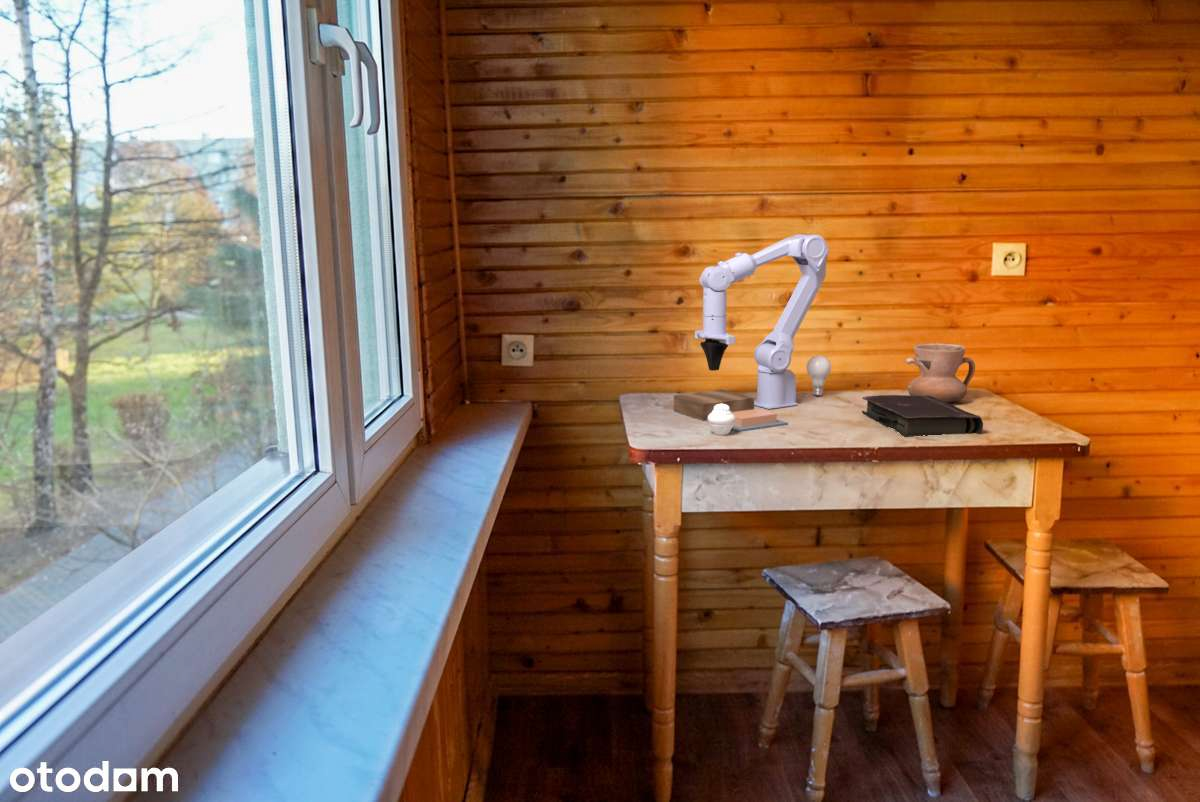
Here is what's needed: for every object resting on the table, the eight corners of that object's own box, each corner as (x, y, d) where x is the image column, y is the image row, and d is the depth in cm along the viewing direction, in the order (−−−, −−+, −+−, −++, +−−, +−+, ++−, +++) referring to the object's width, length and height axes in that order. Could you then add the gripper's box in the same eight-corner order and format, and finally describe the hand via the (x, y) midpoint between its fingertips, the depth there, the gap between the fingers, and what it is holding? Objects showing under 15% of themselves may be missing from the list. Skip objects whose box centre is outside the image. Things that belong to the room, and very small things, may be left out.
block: (776, 413, 217) (776, 422, 217) (757, 408, 223) (757, 416, 224) (741, 418, 212) (741, 427, 213) (723, 413, 219) (723, 421, 219)
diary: (931, 414, 230) (932, 393, 229) (982, 437, 205) (984, 415, 204) (858, 415, 228) (859, 395, 227) (900, 439, 204) (902, 416, 203)
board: (722, 404, 240) (723, 389, 239) (754, 413, 229) (754, 397, 228) (673, 411, 233) (673, 395, 232) (703, 420, 222) (703, 404, 221)
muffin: (738, 432, 210) (739, 401, 209) (730, 437, 205) (730, 406, 203) (712, 429, 213) (712, 399, 212) (703, 435, 207) (703, 404, 206)
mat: (753, 414, 228) (753, 412, 228) (788, 424, 217) (788, 422, 217) (706, 420, 222) (706, 419, 222) (738, 431, 210) (739, 429, 210)
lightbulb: (802, 394, 252) (804, 353, 250) (826, 393, 253) (827, 353, 251) (809, 398, 246) (810, 357, 244) (833, 398, 247) (834, 356, 244)
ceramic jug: (912, 407, 234) (915, 350, 232) (895, 396, 249) (897, 342, 246) (984, 406, 234) (988, 350, 231) (963, 395, 248) (966, 342, 246)
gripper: (684, 314, 235) (684, 367, 238) (718, 319, 222) (717, 375, 225) (708, 312, 238) (707, 365, 241) (742, 317, 226) (741, 373, 228)
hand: (714, 370), depth 233 cm, fingers closed
